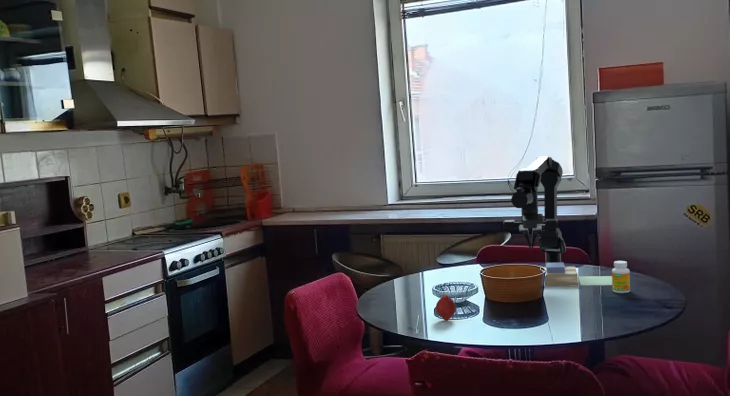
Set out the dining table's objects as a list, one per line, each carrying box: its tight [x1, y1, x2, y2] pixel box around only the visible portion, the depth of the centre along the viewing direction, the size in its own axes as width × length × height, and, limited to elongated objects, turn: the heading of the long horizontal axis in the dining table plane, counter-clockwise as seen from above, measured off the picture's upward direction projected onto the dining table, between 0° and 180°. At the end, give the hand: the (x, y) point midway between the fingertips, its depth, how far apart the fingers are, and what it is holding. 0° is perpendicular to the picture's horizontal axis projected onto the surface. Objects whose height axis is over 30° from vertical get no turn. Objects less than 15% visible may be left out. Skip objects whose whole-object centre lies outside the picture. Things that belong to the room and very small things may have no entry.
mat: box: [578, 275, 612, 287], centre depth 242 cm, size 13×12×1 cm
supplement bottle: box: [611, 260, 631, 294], centre depth 226 cm, size 5×5×10 cm
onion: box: [435, 293, 457, 321], centre depth 206 cm, size 6×6×8 cm
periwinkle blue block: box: [545, 261, 566, 273], centre depth 245 cm, size 8×6×2 cm
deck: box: [541, 266, 579, 287], centre depth 245 cm, size 13×12×4 cm
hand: (531, 248), depth 246 cm, fingers closed
